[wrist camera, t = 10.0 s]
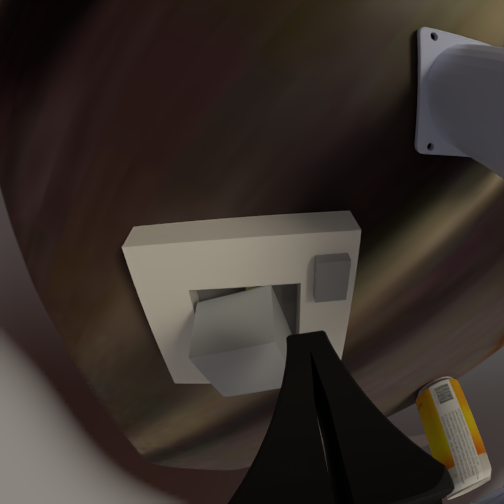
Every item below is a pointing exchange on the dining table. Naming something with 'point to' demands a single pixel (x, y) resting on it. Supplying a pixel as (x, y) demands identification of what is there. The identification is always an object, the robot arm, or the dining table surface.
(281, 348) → the plug
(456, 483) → the yellow supplement bottle
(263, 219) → the socket
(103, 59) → the dining table surface
